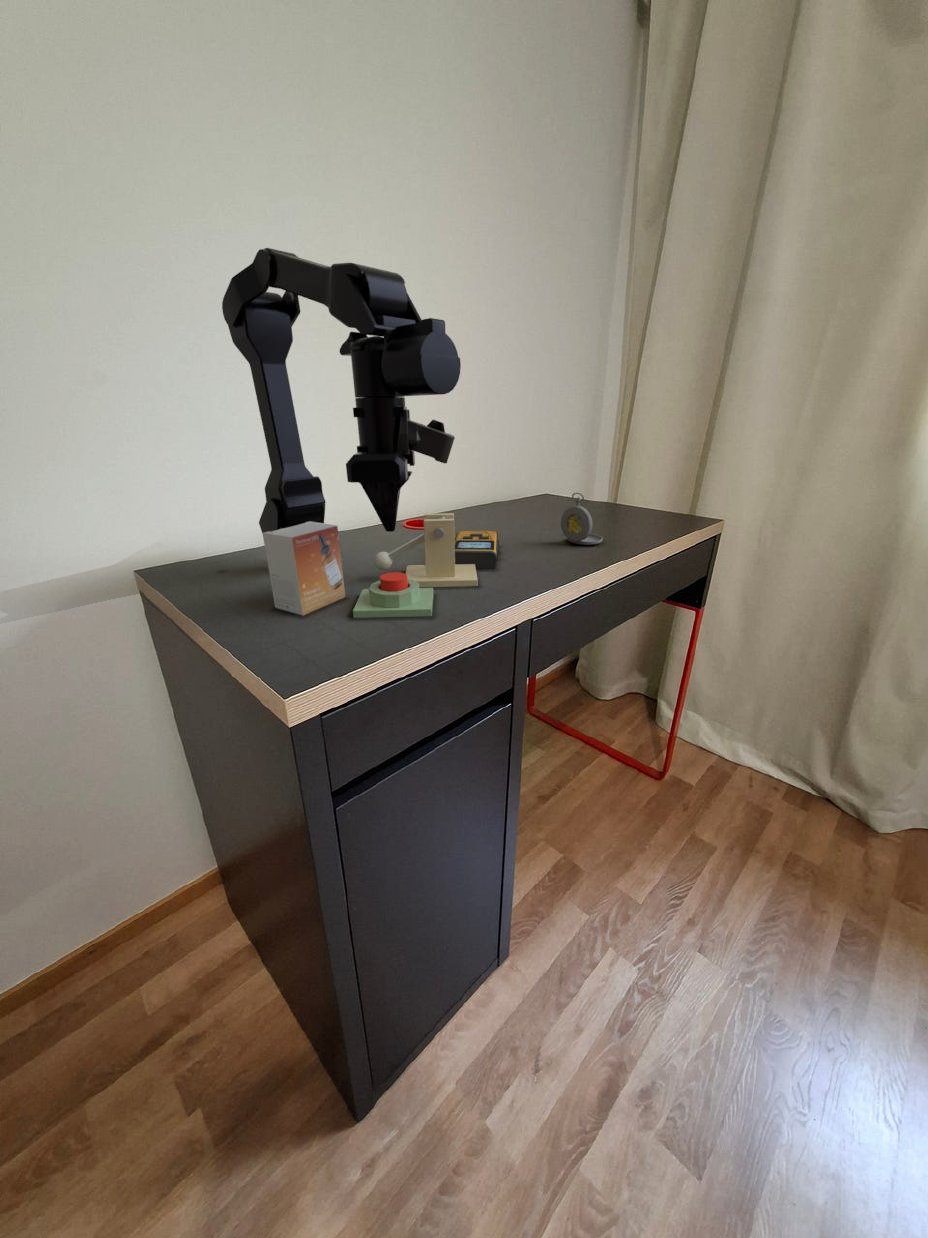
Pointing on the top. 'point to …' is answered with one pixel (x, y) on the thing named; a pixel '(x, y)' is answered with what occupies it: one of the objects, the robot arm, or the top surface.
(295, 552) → the small box
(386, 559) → the lever
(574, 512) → the pocket watch
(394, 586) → the button
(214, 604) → the top surface
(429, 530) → the bracket
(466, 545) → the electronic device
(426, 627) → the top surface
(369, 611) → the button block
